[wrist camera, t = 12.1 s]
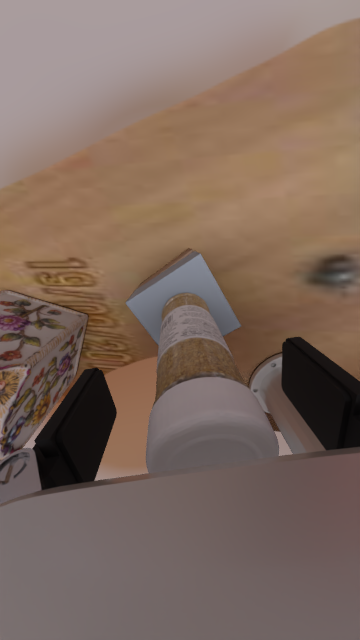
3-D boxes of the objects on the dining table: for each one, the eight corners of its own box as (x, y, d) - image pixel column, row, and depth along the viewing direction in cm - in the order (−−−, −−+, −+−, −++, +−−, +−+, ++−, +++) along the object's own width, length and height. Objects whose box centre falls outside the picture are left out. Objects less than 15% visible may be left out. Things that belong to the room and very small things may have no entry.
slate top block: (228, 309, 24) (241, 326, 19) (172, 341, 26) (172, 364, 21) (194, 250, 22) (200, 253, 17) (134, 290, 23) (125, 302, 18)
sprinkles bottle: (188, 343, 20) (216, 520, 8) (151, 317, 19) (115, 480, 6) (219, 310, 19) (313, 459, 6) (182, 280, 17) (212, 395, 5)
